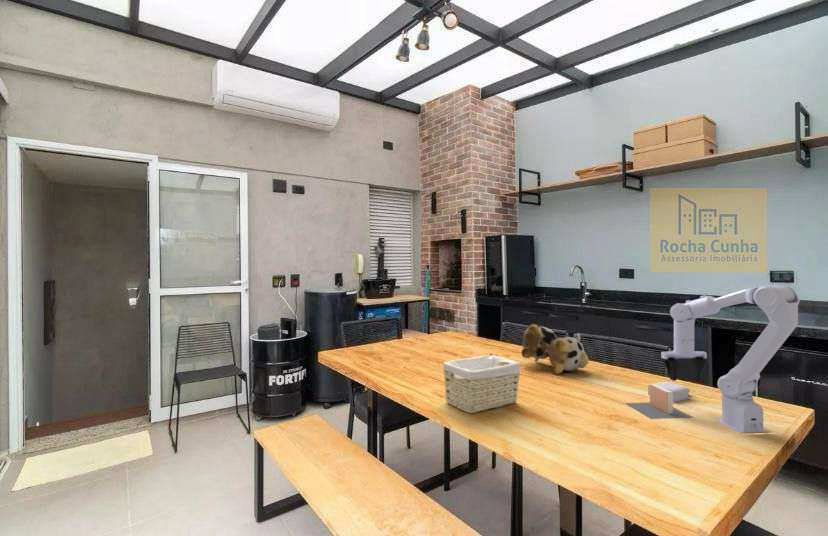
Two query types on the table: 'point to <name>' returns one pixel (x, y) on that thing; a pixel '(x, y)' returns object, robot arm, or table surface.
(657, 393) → the tile
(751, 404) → the robot arm
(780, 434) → the table surface
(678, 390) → the charger
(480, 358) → the object
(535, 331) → the toy
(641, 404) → the mat
